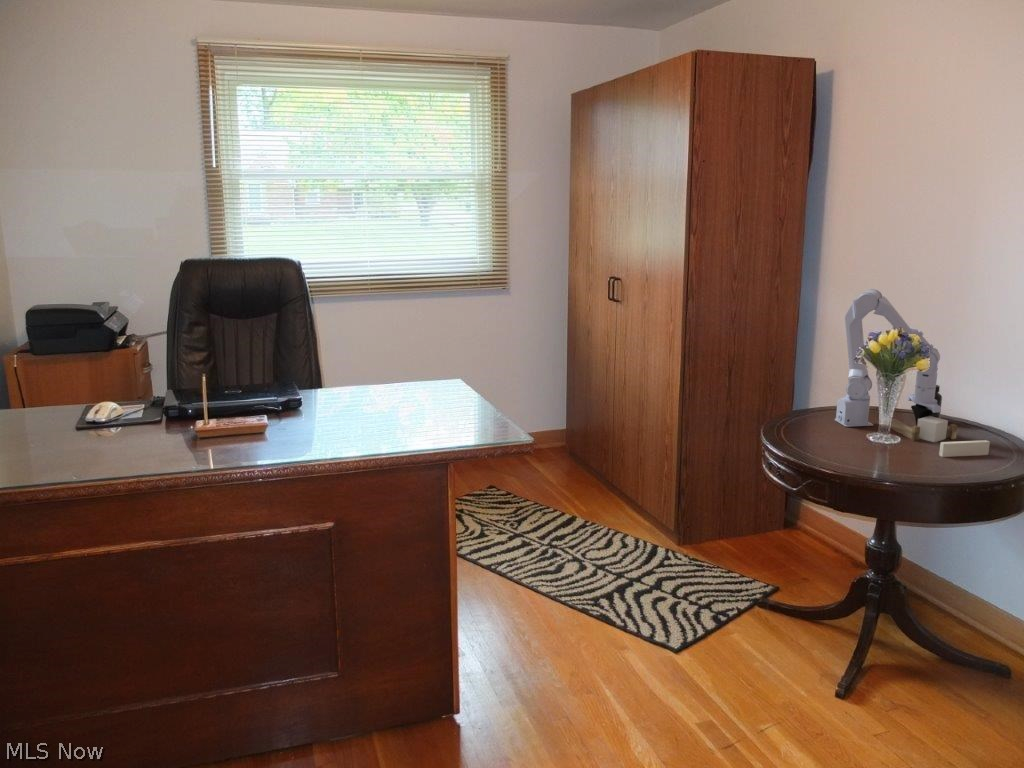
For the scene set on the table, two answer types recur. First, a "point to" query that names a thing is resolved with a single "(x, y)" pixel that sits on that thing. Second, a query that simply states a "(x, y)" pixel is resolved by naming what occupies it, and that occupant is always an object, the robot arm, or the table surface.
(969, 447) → the board
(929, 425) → the beige cube
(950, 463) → the table surface
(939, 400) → the supplement bottle
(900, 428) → the chute
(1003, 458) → the table surface
